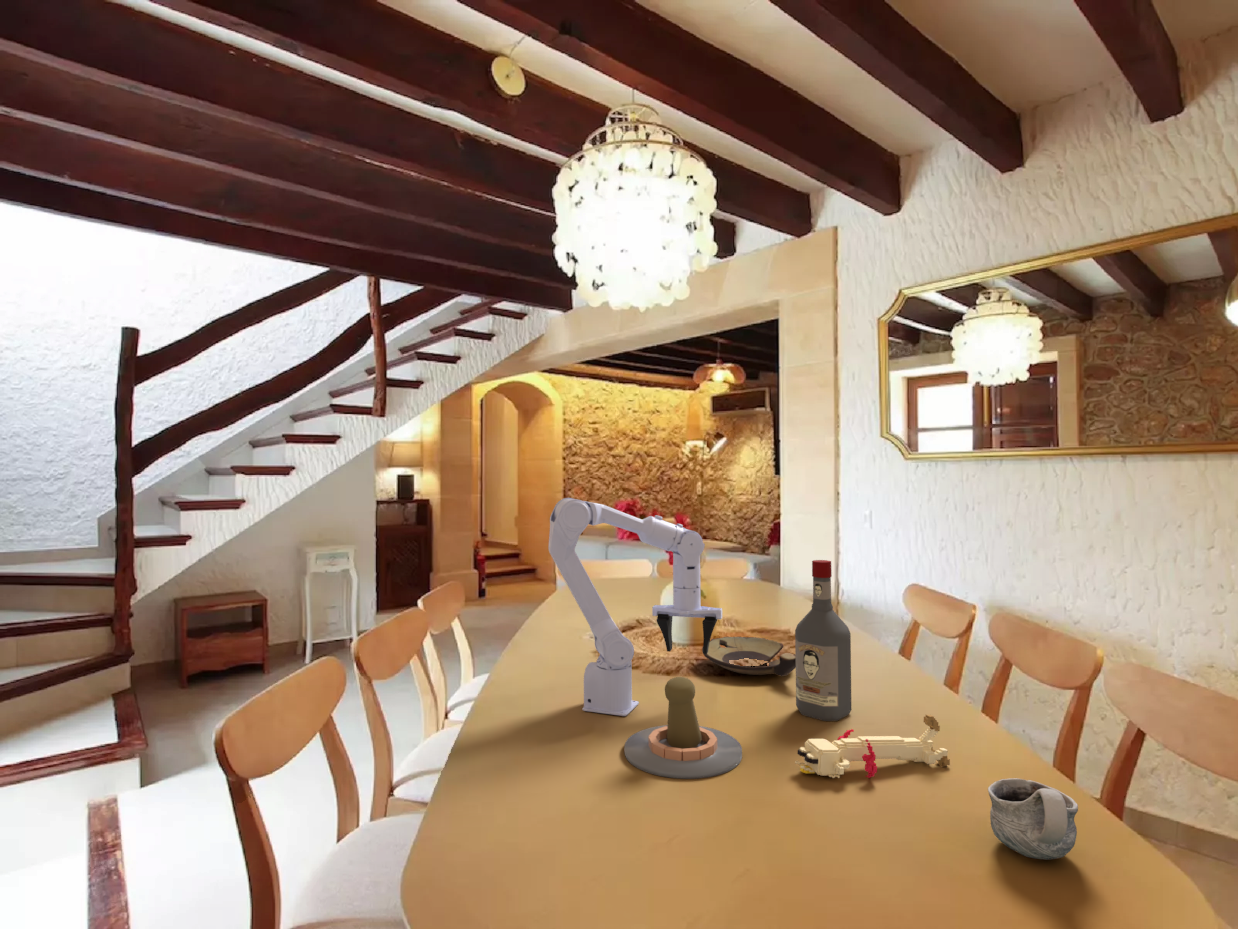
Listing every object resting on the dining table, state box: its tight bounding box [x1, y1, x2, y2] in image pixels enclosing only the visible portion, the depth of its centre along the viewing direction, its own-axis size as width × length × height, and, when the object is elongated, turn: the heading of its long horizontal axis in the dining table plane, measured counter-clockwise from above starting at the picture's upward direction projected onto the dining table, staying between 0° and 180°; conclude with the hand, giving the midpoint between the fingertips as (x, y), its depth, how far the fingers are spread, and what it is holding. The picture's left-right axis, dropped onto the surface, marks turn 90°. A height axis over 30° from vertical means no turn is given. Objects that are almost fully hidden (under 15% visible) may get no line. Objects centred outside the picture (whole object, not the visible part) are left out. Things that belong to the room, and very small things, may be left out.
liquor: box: [794, 559, 853, 722], centre depth 134 cm, size 9×9×30 cm
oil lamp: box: [701, 636, 796, 677], centre depth 161 cm, size 22×30×8 cm
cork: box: [664, 676, 702, 749], centre depth 116 cm, size 6×6×11 cm
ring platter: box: [624, 724, 743, 780], centre depth 115 cm, size 20×20×2 cm
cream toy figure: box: [794, 714, 951, 779], centre depth 109 cm, size 10×9×25 cm
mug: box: [987, 777, 1079, 861], centre depth 83 cm, size 10×12×10 cm
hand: (687, 651), depth 141 cm, fingers open, 7 cm apart
